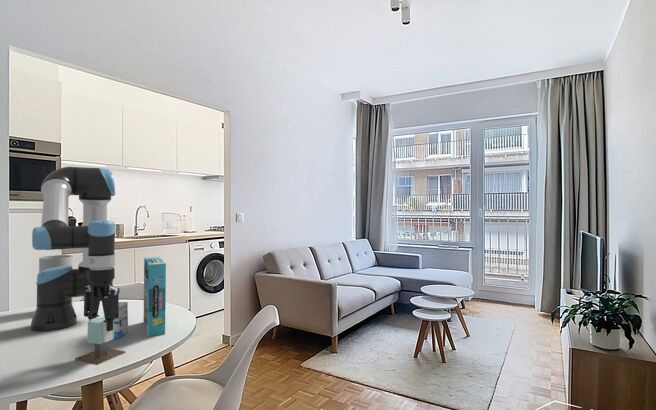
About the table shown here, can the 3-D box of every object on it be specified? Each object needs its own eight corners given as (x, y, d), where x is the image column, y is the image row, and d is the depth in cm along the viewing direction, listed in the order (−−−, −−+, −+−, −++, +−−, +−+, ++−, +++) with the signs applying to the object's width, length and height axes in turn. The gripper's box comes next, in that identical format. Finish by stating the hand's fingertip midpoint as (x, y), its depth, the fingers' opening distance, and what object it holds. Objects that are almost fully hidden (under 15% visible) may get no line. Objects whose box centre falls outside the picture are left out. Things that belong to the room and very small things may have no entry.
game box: (142, 322, 158) (143, 257, 158) (159, 319, 162) (159, 256, 162) (147, 337, 141) (147, 264, 141) (165, 334, 144) (166, 263, 144)
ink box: (118, 339, 138) (118, 307, 138) (103, 339, 138) (103, 307, 138) (128, 331, 146) (128, 301, 146) (114, 332, 146) (115, 301, 146)
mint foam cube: (87, 342, 121) (87, 321, 121) (102, 337, 126) (102, 317, 126) (99, 344, 119) (99, 323, 119) (113, 339, 124) (113, 318, 124)
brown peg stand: (75, 359, 120) (75, 337, 120) (103, 348, 129) (103, 328, 129) (97, 364, 116) (98, 341, 116) (125, 352, 126) (125, 331, 126)
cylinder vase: (75, 306, 182) (76, 254, 182) (67, 313, 170) (67, 258, 170) (45, 308, 178) (45, 255, 178) (33, 316, 166) (34, 259, 166)
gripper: (70, 268, 122) (69, 340, 122) (111, 271, 116) (111, 347, 116) (91, 264, 130) (91, 332, 129) (132, 268, 123) (131, 339, 123)
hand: (101, 339), depth 123 cm, fingers closed on mint foam cube, 5 cm apart
